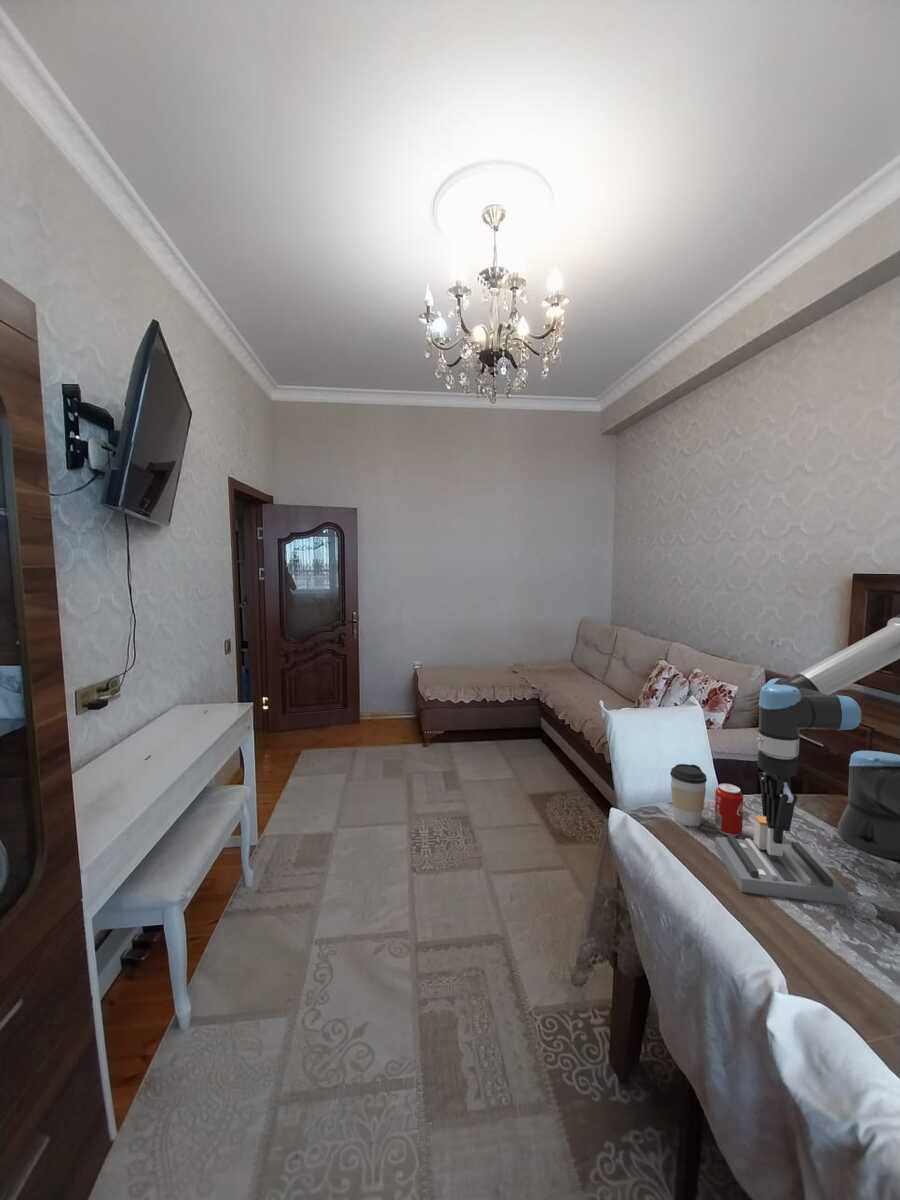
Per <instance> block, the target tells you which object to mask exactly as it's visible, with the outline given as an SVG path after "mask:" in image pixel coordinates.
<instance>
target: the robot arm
mask: <svg viewBox="0 0 900 1200" xmlns="http://www.w3.org/2000/svg"><path fill="white" fill-rule="evenodd" d="M886 623H887V624H886V626H885V627H883V628H881V629H879V630H878V631H875V632H873V633H872V634H869V635H868V636H866V637H864V638H862V639H861V640H858V641H857V642H855V643H853V644H851V645H849V646H847V647H845V648H843V649H841V650H840V651H838V652H836V653H834V654H832V655H831V656H828V657H827V658H825V659H823V660H821V661H819V662H818V663H815V664H813V665H812V666H810V667H807V668H805V669H804V670H802V671H800V672H799V673H796V674H795V675H793V676H791V677H789V678H787V679H786V678H779V677H778V678H777V677H776V678H771V679H770V680H768V681H767V682H766V683H764V685H762V687H761V688H760V692H759V699H758V737H757V738H756V741H757V742H758V744H757V746H758V749H759V750H758V751H757V766H758V768H759V769H760V770H762V771H763V772H758V778H759V783H760V784H759V785H760V795H761V796H760V798H761V807H762V809H761V810H762V816H763V817H766V821H767V823H768V834H767V852H768V853H769V855H776V856H783V844H784V836H785V835H784V832H790V830H791V826H792V819H793V815H794V811H795V806H796V805H795V804H796V803H797V802H798V796H797V794H793V793H792V791H791V788H792V782H791V778H792V777H793V776H796V775H797V774H798V773H799V758H798V756H799V754H800V753H799V752H800V750H799V749H800V731H801V730H825V731H826V730H830V731H844V730H846V731H847V730H848V731H849V730H854V729H856V728H857V727H859V725H860V724H861V722H862V710H861V707H860V705H859V704H858V703H857V701H856V700H855V699H854V698H852V697H850V696H849V695H847V696H846V695H838V694H834V693H836V692H837V691H839V690H841V689H844V688H845V687H848V686H849V685H851V684H853V683H855V682H857V681H859V680H862V678H865V677H866V676H868V675H871V674H872V673H874V672H876V671H878V670H881V669H882V668H884V667H885V666H888V665H890V664H891V663H894V662H895V661H898V660H900V613H899V614H897V615H896V616H893V617H892V618H890V619H889V620H888V621H887V622H886ZM848 767H849V768H848V792H847V793H848V795H847V806H846V807H845V809H844V811H843V813H842V815H841V816H840V819H839V821H838V823H837V833H838V836H839V837H840V838H841V839H842V840H844V842H846V843H848V844H849V845H850V846H853V847H855V848H857V849H859V850H861V851H863V852H866V853H868V854H871V855H874V856H877V857H881V858H886V859H890V860H896V861H900V754H897V753H891V752H884V751H878V750H877V751H876V750H858V751H854V752H853V753H851V754H850V760H849V764H848Z"/></svg>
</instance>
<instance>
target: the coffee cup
mask: <svg viewBox="0 0 900 1200" xmlns="http://www.w3.org/2000/svg"><path fill="white" fill-rule="evenodd" d="M670 776H671V782H670V786H671V802H672V808H673V810H672V812H673V819H674V821H676V822H677V821H678V822H677V823H679V824H680V823H682V824H681V825H683V824H684V825H683V826H686V825H689V826H688V827H691V826H696V827H699V826H701V825H702V818H703V810H704V808H705V807H704V806H705V799H706V790H707V789H706V785H707V781H708V779H707V775H706V774H705V773H704V772H703V769H701V767H700V766H699V765H697V764H687V763H681V764H678V763H677V764H676V765H675V766H674V767H672V768H671V769H670ZM700 824H701V825H700Z"/></svg>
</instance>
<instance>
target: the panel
mask: <svg viewBox="0 0 900 1200" xmlns="http://www.w3.org/2000/svg"><path fill="white" fill-rule="evenodd" d="M714 840H715V841H714V843H715V845H714V848H715V851H716V852H717V853H718V856H719V857H720V859H721V860H722V863H723V864H724V866H725V868H726V869H727V871H728V872H729V874H730V876H731V878H732V879H733V881H734V883H735V884H736V886H737V888H738V890H739V891H740V892H741V893H746V894H747V893H748V894H755V895H763V896H772V897H778V898H785V899H786V898H787V899H794V900H803V901H811V902H818V903H827V904H835V905H842V906H848V905H849V891H848V889H847V888H846V887H845V886H844V885H843V884H842V883H841V882H840V881H839V880H838V879H837V877H836V876H835V875H833V872H831V871H830V870H829V868H827V867H826V866H825V865H824V864H823V863H822V861H820V859H819V858H818V857H817V856H816V855H815V853H813V851H811V849H809V847H808V846H805V845H801V846H802V847H803V848H804V849H805V850H806V851H807V852H808V854H809V855H810V856H811V857H812V858H813V859H814V860H815V861H816V862H817V863H818V864H819V866H820V867H821V868H822V869H823V870H824V871H825V872H826V873H827V874H828V875H829V877H830V878H831V879H832V880H833V887H830V886H825V885H824V884H823V883H822V882H821V881H819V879H818V877H817V876H816V875H815V874H814V873H813V871H812V870H811V869H810V868H809V867H808V866H807V865H806V863H805V862H804V861H803V860H802V859H801V858H800V857H799V855H798V854H797V853H795V851H794V850H793V848H792V847H791V844H789V843H787V844H785V843H783V856H776V855H769V853H768V852H767V850H762V849H759V848H758V847H757V846H756V844H755V843H754V840H751V838H747V837H745V839H737V838H736V840H737V841H738V842H739V844H740V845H741V847H742V848H743V850H744V851H745V853H746V854H747V855H748V857H749V858H750V860H751V861H752V863H753V864H754V866H755V867H756V868H757V870H758V871H759V878H756V877H751V876H750V874H749V873H747V870H746V868H745V867H744V865H743V864H742V862H741V861H740V859H739V857H738V856H737V854H736V853H735V851H734V850H733V848H732V847H731V845H730V844H728V843H729V842H728V841H727V837H720V836H715V839H714Z"/></svg>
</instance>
